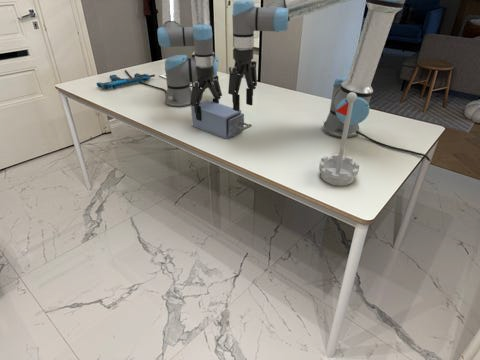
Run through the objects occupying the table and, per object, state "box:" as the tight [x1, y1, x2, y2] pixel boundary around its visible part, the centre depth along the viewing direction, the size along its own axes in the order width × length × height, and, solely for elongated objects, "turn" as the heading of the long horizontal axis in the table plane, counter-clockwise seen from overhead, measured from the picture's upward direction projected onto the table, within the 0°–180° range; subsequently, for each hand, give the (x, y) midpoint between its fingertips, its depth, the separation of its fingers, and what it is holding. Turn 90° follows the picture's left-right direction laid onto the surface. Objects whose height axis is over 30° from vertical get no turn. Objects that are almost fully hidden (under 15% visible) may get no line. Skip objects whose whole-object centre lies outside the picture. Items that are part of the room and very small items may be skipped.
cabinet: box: [190, 99, 242, 139], centre depth 150 cm, size 20×10×10 cm, turn 50°
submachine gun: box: [95, 72, 156, 91], centre depth 209 cm, size 34×4×25 cm
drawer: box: [227, 113, 253, 138], centre depth 147 cm, size 25×9×8 cm, turn 50°
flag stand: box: [318, 92, 360, 187], centre depth 110 cm, size 13×13×30 cm
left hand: (207, 116), depth 153 cm, fingers closed on cabinet, 10 cm apart
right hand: (243, 107), depth 137 cm, fingers open, 8 cm apart
